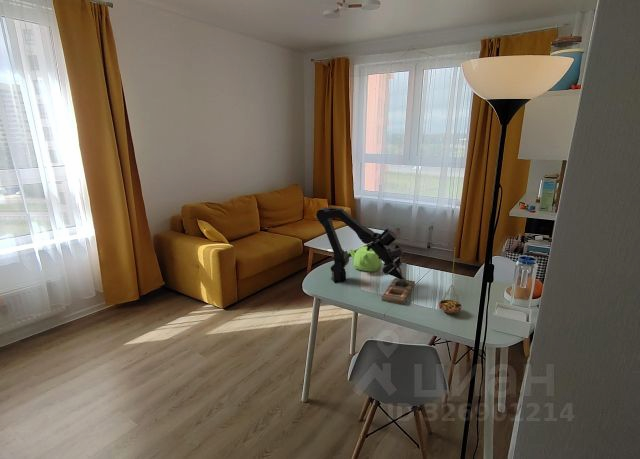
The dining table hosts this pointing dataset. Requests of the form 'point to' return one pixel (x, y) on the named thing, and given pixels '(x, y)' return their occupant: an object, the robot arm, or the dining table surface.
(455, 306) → the bird feeder
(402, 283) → the peg
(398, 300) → the brown flat block
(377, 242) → the robot arm
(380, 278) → the dining table surface
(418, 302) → the dining table surface
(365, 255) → the teapot
